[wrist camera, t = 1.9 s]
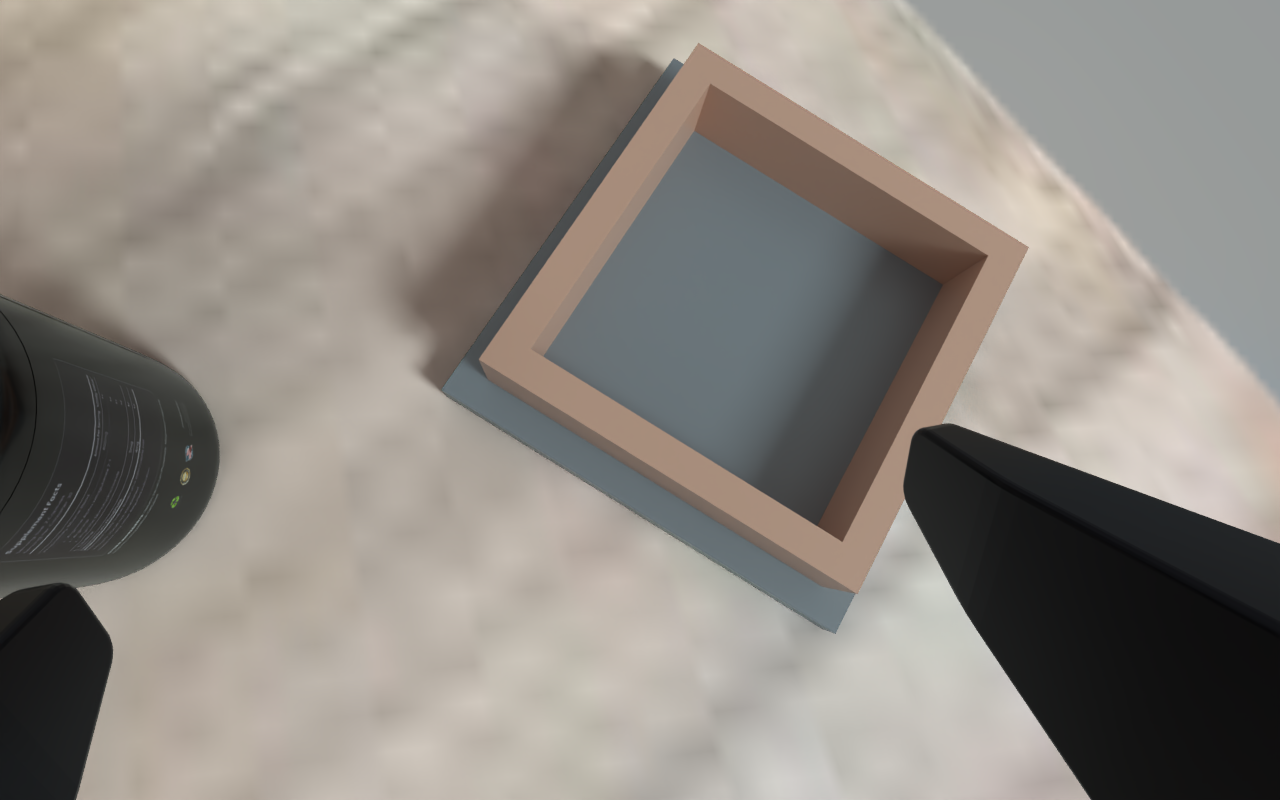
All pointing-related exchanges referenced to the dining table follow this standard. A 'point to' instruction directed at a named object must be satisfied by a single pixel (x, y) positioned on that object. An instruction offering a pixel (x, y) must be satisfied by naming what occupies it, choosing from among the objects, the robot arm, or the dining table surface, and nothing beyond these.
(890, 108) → the dining table surface
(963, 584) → the robot arm
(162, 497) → the supplement bottle
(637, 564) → the dining table surface
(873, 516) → the dock
